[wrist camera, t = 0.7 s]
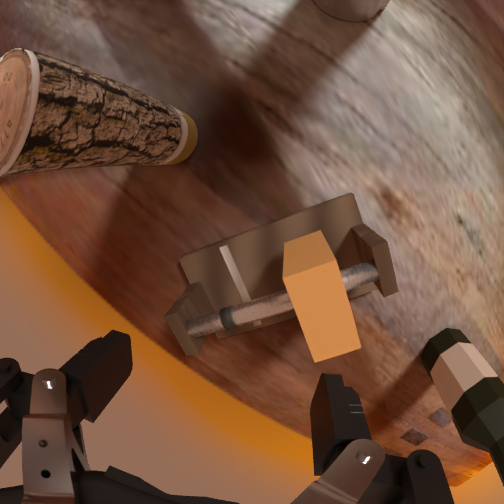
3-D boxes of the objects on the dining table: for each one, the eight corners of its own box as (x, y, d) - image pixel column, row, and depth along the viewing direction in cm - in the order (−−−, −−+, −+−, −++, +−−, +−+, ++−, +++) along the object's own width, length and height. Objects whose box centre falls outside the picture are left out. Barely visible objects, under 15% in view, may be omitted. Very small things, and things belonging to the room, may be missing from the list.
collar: (320, 229, 29) (336, 259, 19) (342, 296, 30) (361, 347, 21) (284, 242, 29) (282, 278, 20) (308, 307, 31) (314, 362, 22)
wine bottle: (423, 334, 35) (513, 500, 6) (466, 321, 33) (568, 456, 5) (417, 375, 37) (478, 528, 8) (458, 362, 35) (532, 493, 7)
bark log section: (197, 165, 32) (23, 174, 8) (147, 164, 33) (-33, 182, 9) (202, 110, 30) (46, 28, 6) (151, 113, 31) (-19, 70, 7)
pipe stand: (350, 192, 31) (376, 202, 21) (376, 283, 34) (403, 322, 24) (182, 255, 36) (147, 286, 26) (220, 333, 38) (201, 380, 29)
